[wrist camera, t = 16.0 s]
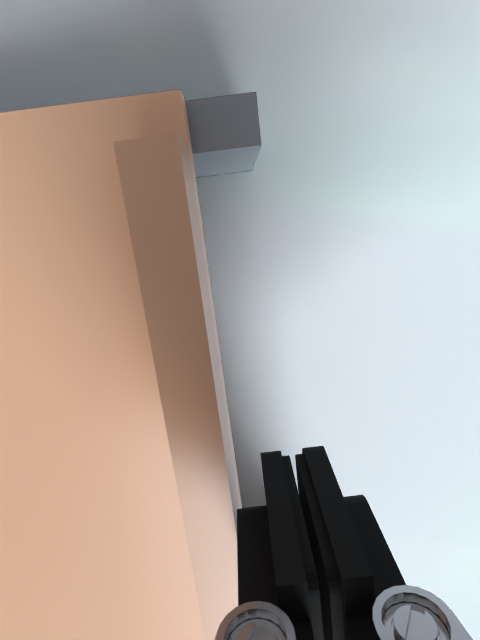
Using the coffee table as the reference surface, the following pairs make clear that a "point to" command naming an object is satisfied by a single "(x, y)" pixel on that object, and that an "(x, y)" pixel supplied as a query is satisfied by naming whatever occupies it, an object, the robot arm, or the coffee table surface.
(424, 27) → the coffee table surface
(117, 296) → the lid
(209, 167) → the housing
